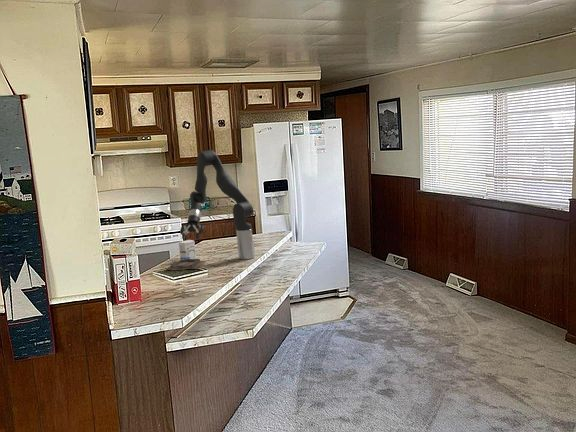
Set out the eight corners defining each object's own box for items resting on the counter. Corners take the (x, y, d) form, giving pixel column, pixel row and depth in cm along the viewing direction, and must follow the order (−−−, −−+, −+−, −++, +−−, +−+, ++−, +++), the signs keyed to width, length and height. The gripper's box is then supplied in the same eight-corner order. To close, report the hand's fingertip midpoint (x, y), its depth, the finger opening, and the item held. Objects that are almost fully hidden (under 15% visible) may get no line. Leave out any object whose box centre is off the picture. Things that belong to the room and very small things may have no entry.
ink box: (185, 262, 315) (183, 242, 314) (180, 261, 318) (178, 242, 316) (196, 259, 322) (194, 240, 320) (191, 258, 325) (189, 239, 323)
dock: (205, 262, 311) (205, 256, 311) (196, 269, 294) (195, 263, 293) (176, 263, 314) (176, 257, 313) (165, 271, 296) (164, 264, 296)
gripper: (181, 215, 333) (177, 236, 323) (203, 213, 330) (199, 235, 321) (185, 221, 338) (181, 243, 329) (206, 220, 336) (203, 242, 327)
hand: (190, 239), depth 325 cm, fingers open, 8 cm apart
